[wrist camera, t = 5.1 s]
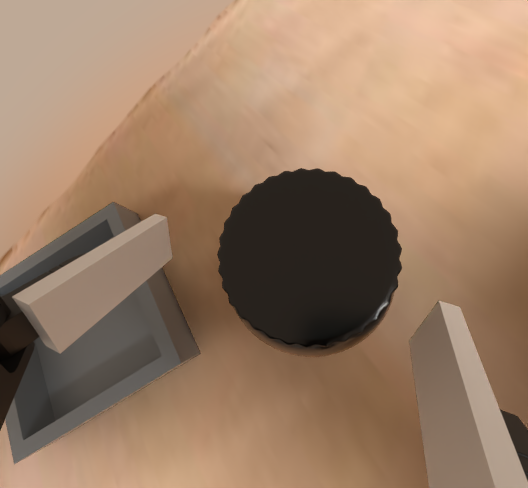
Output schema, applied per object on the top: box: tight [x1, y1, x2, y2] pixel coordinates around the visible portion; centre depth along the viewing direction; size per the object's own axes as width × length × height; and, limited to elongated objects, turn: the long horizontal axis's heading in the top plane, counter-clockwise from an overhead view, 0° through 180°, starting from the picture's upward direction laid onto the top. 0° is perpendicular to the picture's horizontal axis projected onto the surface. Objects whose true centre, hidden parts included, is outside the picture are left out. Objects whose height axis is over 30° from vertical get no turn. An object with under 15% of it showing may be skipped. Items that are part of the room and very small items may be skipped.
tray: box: [0, 202, 200, 464], centre depth 19 cm, size 13×13×3 cm
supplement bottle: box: [217, 168, 402, 357], centre depth 12 cm, size 7×7×12 cm
